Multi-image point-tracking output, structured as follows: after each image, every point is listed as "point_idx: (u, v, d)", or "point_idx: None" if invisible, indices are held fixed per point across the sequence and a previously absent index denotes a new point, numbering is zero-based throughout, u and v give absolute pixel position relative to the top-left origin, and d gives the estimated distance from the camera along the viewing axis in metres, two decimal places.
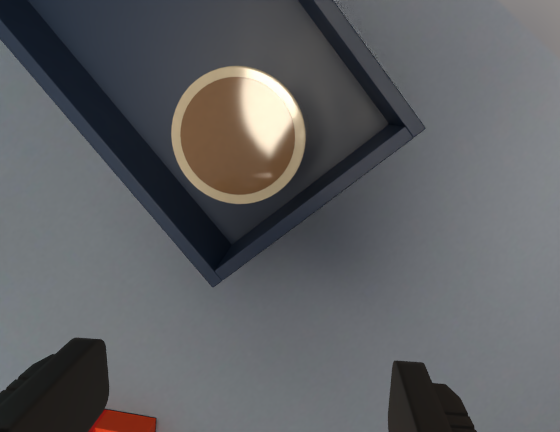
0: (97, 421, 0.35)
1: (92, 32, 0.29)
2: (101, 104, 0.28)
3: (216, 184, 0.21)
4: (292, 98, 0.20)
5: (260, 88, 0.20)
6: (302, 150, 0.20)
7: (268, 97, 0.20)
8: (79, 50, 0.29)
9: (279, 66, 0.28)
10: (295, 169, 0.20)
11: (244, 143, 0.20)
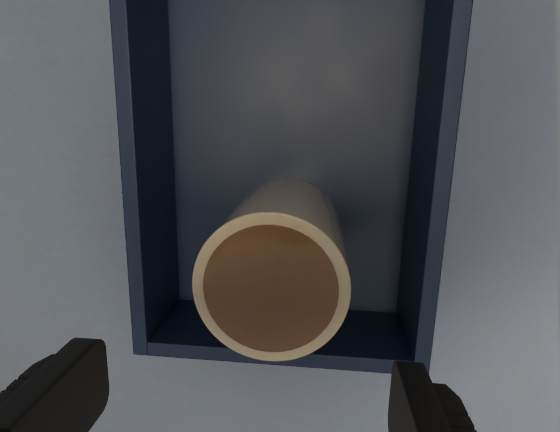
0: None
1: (204, 15, 0.24)
2: (159, 95, 0.23)
3: (215, 310, 0.18)
4: (348, 300, 0.17)
5: (328, 270, 0.17)
6: (318, 347, 0.18)
7: (328, 281, 0.17)
8: (178, 19, 0.24)
9: (348, 192, 0.25)
10: (298, 356, 0.18)
11: (272, 300, 0.17)
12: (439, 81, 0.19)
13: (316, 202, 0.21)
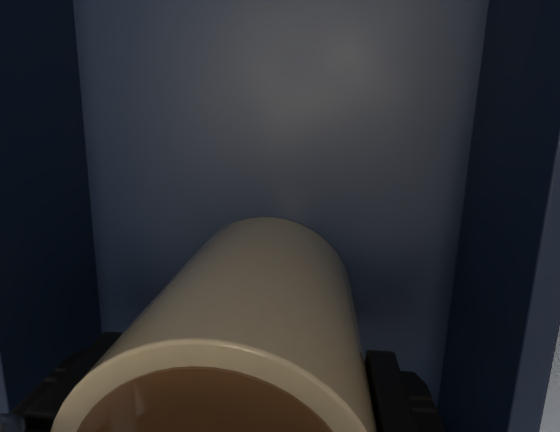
0: None
1: None
2: (47, 83, 0.14)
3: None
4: None
5: None
6: None
7: None
8: None
9: (364, 240, 0.16)
10: None
11: None
12: (555, 50, 0.10)
13: (312, 274, 0.12)
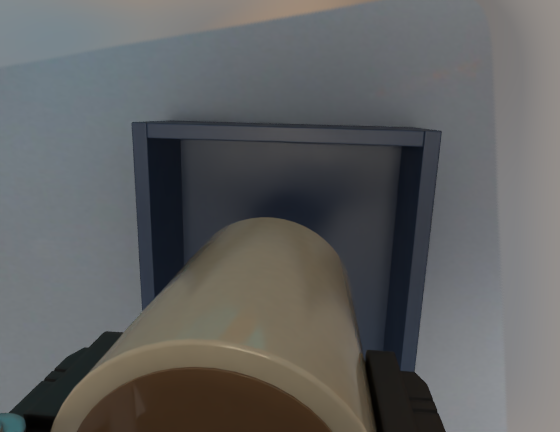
0: None
1: None
2: None
3: None
4: None
5: None
6: None
7: None
8: (191, 237, 0.29)
9: None
10: None
11: None
12: (400, 331, 0.24)
13: (312, 274, 0.12)
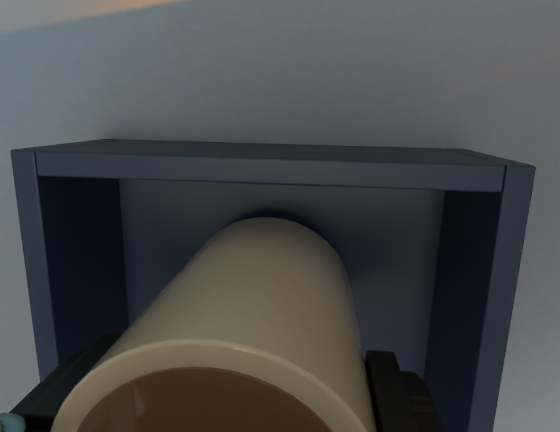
0: None
1: None
2: None
3: None
4: None
5: None
6: None
7: None
8: (138, 305, 0.20)
9: None
10: None
11: None
12: None
13: (312, 274, 0.12)
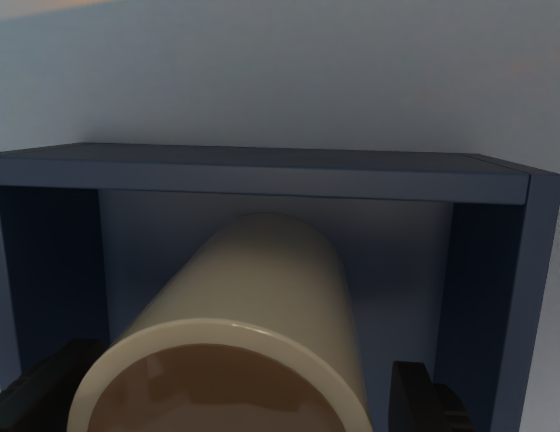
0: None
1: None
2: None
3: None
4: None
5: None
6: None
7: None
8: (120, 323, 0.18)
9: None
10: None
11: None
12: None
13: (310, 265, 0.12)
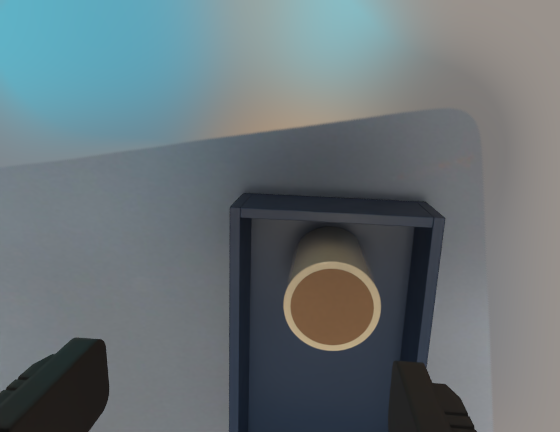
0: None
1: (273, 277, 0.38)
2: (246, 330, 0.37)
3: (296, 319, 0.29)
4: (379, 314, 0.28)
5: (367, 295, 0.28)
6: (360, 342, 0.29)
7: (367, 302, 0.28)
8: (256, 278, 0.38)
9: (360, 380, 0.40)
10: (347, 347, 0.29)
11: (332, 313, 0.29)
12: (415, 352, 0.33)
13: (355, 248, 0.32)
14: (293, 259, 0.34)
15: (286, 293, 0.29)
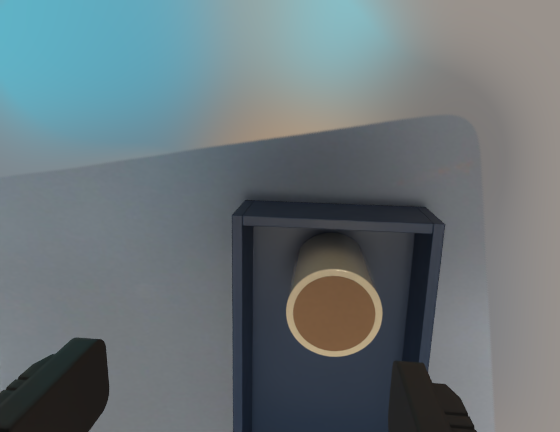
0: None
1: (275, 282, 0.38)
2: (249, 336, 0.38)
3: (299, 326, 0.29)
4: (381, 320, 0.29)
5: (369, 302, 0.28)
6: (362, 348, 0.29)
7: (368, 309, 0.29)
8: (258, 284, 0.39)
9: (362, 383, 0.40)
10: (349, 353, 0.30)
11: (334, 319, 0.29)
12: (416, 356, 0.34)
13: (356, 255, 0.33)
14: (295, 265, 0.34)
15: (288, 300, 0.29)
